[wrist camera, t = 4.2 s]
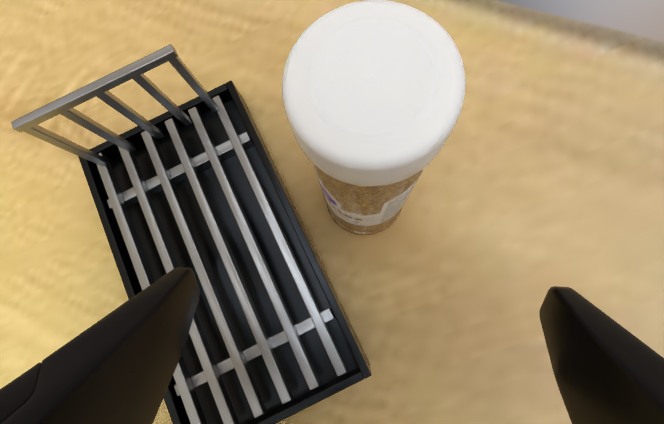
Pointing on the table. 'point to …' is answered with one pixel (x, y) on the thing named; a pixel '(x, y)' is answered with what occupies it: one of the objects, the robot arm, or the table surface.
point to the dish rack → (215, 248)
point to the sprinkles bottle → (372, 105)
